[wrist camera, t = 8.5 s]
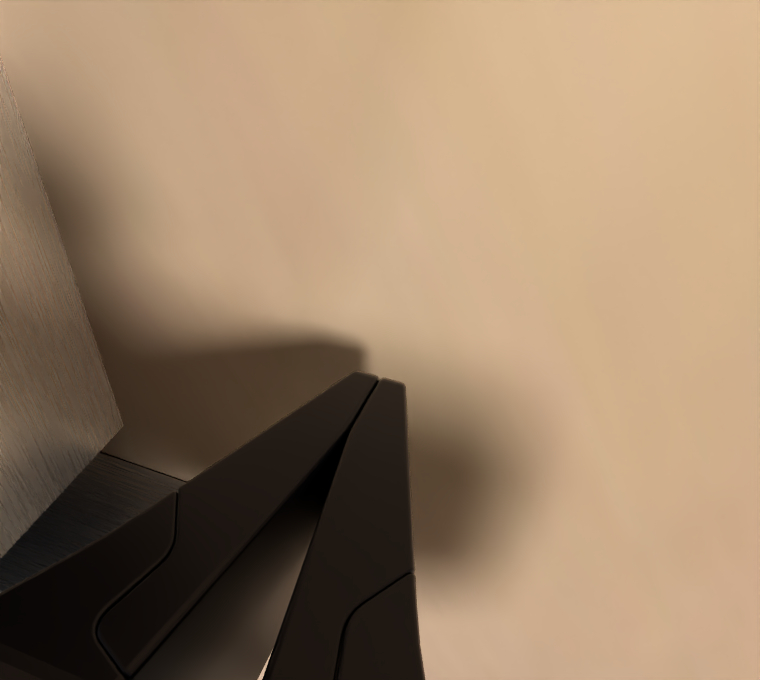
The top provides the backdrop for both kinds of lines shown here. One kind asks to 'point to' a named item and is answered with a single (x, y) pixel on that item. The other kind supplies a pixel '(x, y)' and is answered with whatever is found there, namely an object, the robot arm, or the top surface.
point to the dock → (84, 514)
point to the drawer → (41, 346)
